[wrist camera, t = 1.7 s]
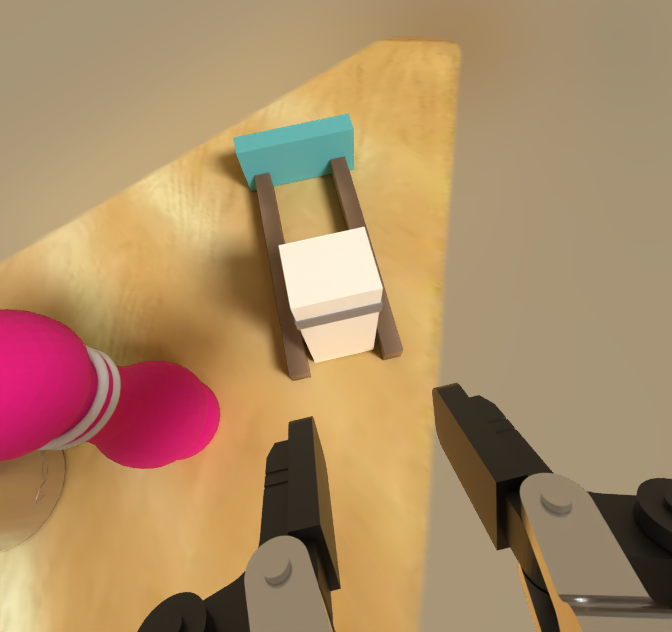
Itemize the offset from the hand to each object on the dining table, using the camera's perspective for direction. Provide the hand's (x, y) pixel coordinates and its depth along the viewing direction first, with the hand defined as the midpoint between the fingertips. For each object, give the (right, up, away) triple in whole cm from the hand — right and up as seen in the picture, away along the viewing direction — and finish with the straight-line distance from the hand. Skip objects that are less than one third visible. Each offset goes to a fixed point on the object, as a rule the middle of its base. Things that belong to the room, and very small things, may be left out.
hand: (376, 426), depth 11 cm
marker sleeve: (-1, +2, +20) cm, 20 cm away
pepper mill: (-14, -5, +18) cm, 24 cm away
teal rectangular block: (-5, +19, +27) cm, 33 cm away
